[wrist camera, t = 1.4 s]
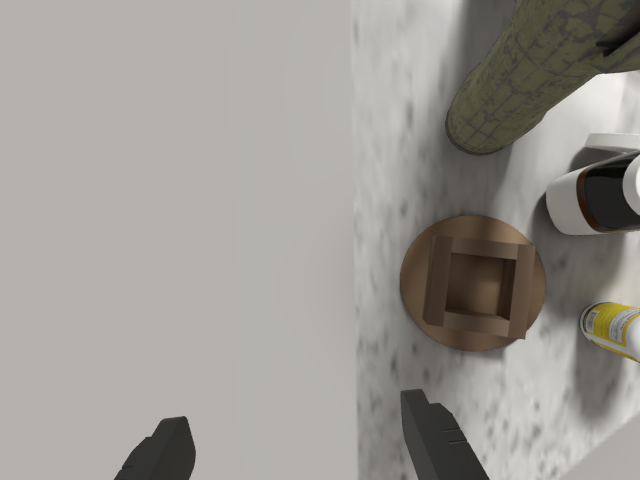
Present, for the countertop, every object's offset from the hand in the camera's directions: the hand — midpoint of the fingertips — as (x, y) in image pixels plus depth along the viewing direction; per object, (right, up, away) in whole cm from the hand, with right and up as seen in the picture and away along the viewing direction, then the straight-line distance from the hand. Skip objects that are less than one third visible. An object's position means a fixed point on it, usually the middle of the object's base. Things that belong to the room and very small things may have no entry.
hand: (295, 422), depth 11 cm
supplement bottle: (+35, -3, +24) cm, 43 cm away
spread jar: (+33, +13, +25) cm, 44 cm away
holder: (+20, +1, +27) cm, 33 cm away
